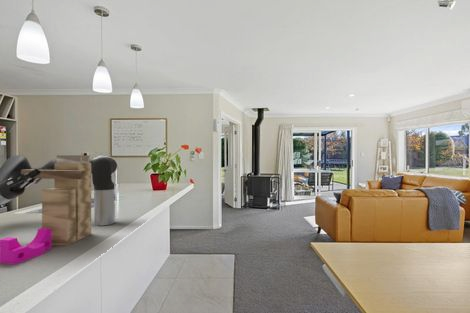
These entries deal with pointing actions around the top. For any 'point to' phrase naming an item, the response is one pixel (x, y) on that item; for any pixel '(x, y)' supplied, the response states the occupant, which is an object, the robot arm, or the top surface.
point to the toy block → (24, 247)
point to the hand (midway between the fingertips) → (42, 170)
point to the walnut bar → (58, 174)
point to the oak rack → (68, 202)
